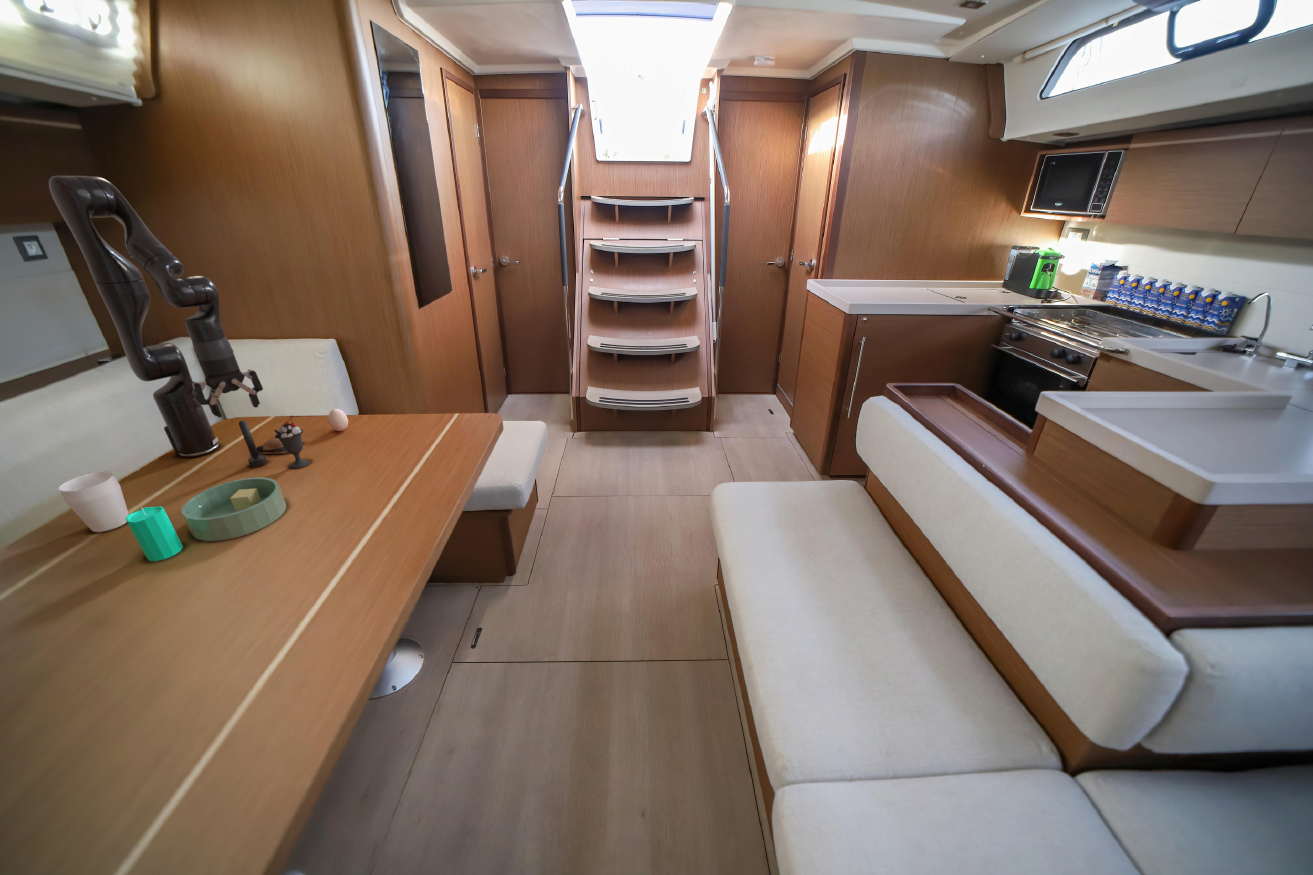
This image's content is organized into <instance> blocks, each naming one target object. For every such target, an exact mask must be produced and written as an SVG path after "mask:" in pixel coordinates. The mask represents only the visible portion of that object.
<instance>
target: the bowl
mask: <svg viewBox="0 0 1313 875" xmlns="http://www.w3.org/2000/svg"><path fill="white" fill-rule="evenodd" d="M254 488H257V491H258V493H259V496H260V498H261V502H260V503H258V504H256V505H254V506H252V507H250V508H247V509H244V510H241V511H235V509H234V506H233V504H232V502H231V499H230V498H231V497H232V496H233V495H234V494H235V493H236V492H237V491H238V490H241V489H254ZM286 509H287V502H286V500H285V497H284V494H283V491H282V489H281V486H280V484H279V482H278V481H277V480H276V479H273V478H269V477H260V476H259V477H257V476H256V477H254V476H253V477H246V478H239V479H235V480H230V481H227V482H223V483H220V484H218V485H214V486H211V487H210V488H207V489H205V490H203V491H201V492H199V493H197V494H195V495H194V496H192V497H191V498H189V499H188V500H187V501H186V502H185V503H184V504H183V506H182V507H181V509H180V511H181V516H182V518H183V520H184V522H185V524H186V527H187V529H188V531H189V532H190V535H192V536H193V537H194V538H195V539H197V540H199V541H203V542H205V541H206V542H219V541H226V540H227V541H228V540H231V539H236V538H239V537H244V536H246V535H249V534H252V533H254V532H257V531H259V530H261V529H264V528H265V527H267V526H269V525H270V524H272V523H274V522H275V521H277V520H278V519H280V517H281V516H282V515H283V514H284V513H285V512H286Z"/></svg>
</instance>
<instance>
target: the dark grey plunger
mask: <svg viewBox="0 0 1313 875" xmlns="http://www.w3.org/2000/svg"><path fill="white" fill-rule="evenodd" d="M238 426H239V429H240V431H241V434H242V436H243V439H244V441H245V444H246V446H247V450H248V452H249V454H250V456H251V457H249V458H248V459H247V462H248V464H249V467H251V468H260V467H262V466H265V465H266V464H267V463H268V462H267V459H266V456H265V454H259V453H258V451H257V445H256V443H255V440H254V438H253V436H252V432H251V430H250V428H249V425H248V423H247V421H246V420H240V421H238Z"/></svg>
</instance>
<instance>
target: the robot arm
mask: <svg viewBox="0 0 1313 875" xmlns="http://www.w3.org/2000/svg"><path fill="white" fill-rule="evenodd" d="M48 188H49V191H50V194H51V197H52V200H53V201H54V203H55V205H56V207H57V209H58V211H59V212H60V214H61V217H62V218H63V220H64V221H65V223H66V225H67V227H68V229H69V230H70V232H71V234H72V236H73V238H74V239H75V241H76V244H77V245H78V247H79V249H80V251H81V253H82V256H83V258H84V260H85V262H86V264H87V267H88V269H89V271H90V274H91V276H92V277H91V278H92V280H93V282H94V284H95V286H96V289H97V290H98V293H99V295H100V296H101V298H102V300H103V302H104V304H105V307H106V308H107V311H108V313H109V315H110V317H111V320H112V322H113V324H114V327H115V329H116V331H117V334H118V337H119V340H120V343H121V346H122V348H123V351H124V355H125V356H126V358H127V363H128V364H129V366H130V368H131V371H132V372H133V373H134V375H135V376H136V377H137V378H138V379H139V380H141V382H142V381H143V382H148V383H149V382H153V381H158V380H161V379H166V378H169V379H168V381H167V382H166V383H165V384H164V385H162V386H161V387H160V388H158V389H156V390H155V391H154V392H153V394H152V397H153V401H154V402H155V404H156V407H157V408H158V410H159V412H160V414H161V417H162V419H163V421H164V423H165V425H166V426H164V427H163V430H164V432H165V434H166V436H167V438H168V440H169V443H170V445H171V447H172V449H173V451H174V453H175V456H176V457H181V458H196V457H201V456H205V455H208V454H211V453H213V452H215V451H217V450H218V449H219V448H220V444H219V442H218V441H219V438H218V436H215V432H214V431H213V428H212V426H211V423H210V421H209V419H208V417H207V415H206V414H207V413H206V412H205V409H204V408H203V406H205V405H206V406H208V407H209V409H210V412H211V413H212V415H214V416H215V417H217V418H223V414H222V412H221V410H220V407H219V405H218V404H217V402H218V399H219V398H220V397H221V394H228V393H230V392H236V391H239V389H242V390H243V391H245V392H247V393H248V394H247V395H248V397H249V400H250V402H251V405H252V407H253V408H255V409H256V408H259V405H260V403H261V402H260V400H259V396H258V393H259V392H262V391H263V390H264V387H263V385H262V383H261V381H260V378H259V376H258V374H257V371H255V370H254V369H248V370H247V371H243V372H242V371H241V369H240V365H239V364H238V361H237V358H236V355H235V353H234V349H233V348H232V346H231V343H230V341H229V340H228V338H227V336H226V332H225V331H224V327H223V325H222V322H221V312H220V294H219V290H218V288H217V286H216V285H215V283H214V282H213V281H212V280H211V279H210V278H208V277H207V276H205V275H193V276H192V275H191V276H184V277H181V276H182V275H183V274H184V272H185V267H184V264H183V262H181V260H180V259H178V258H177V257H176V256H175V255H174V254H173V253H172V252H171V251H170V250H169V248H167V247H166V246H165V245H164V244H162V242H161V241H160V240H159V239H158V238H157V237H156V236H155V234H153V233H152V231H151V230H150V229H149V228H148V226H147V225H146V224H145V222H144V221H143V220H142V218H141V216H139V214H138V213H137V211H136V210H135V209H134V208H133V207H132V205H131V204H130V203H129V201H128V199H126V197H125V196H124V195H123V194H122V193H121V191H120V190H119V189H118V188H117V187H116V186H115V185H114V184H113V183H112V182H111V181H109V180H107V179H105V178H103V177H101V176H93V175H91V176H90V175H53V176H51V177H50V178H49V180H48ZM96 218H98V219H99V218H113V219H115V220H116V221H118V222H119V223H120V224H121V225H122V226H123V230H124V245H125V248H126V251H127V252H128V254H129V255H130V257H131V258H132V259H133V260H134V261H135V262H136V263H137V264H138V265H139V266H140V267H141V268H142V269H143V270H144V271H145V272H146V273H148V275H150V277H151V278H152V280H153V282H154V283H155V285H156V286H157V288H158V290H159V292H160V294H161V296H162V297H163V299H164V300H165V301H166V303H167V304H170V305H171V306H173V307H176V308H178V309H188V308H192V307H198V309H197V311H196V312H195V314H193V315H191V316H188V317H186V319H185V320H184V325H185V326H184V327H185V328H186V331H187V334H188V335H189V339H190V340H191V344H192V347H193V351H194V354H195V356H196V358H197V361H198V364H199V365H200V368H201V370H202V373H203V375H204V380H201V381H193V379H192V375H191V373H190V370H189V367H188V364H187V361H186V359H185V355H183V353H182V351H181V350H180V348H179V347H178V346H176V345H175V344H174V343H172V342H164V343H157V344H153V345H148V346H144V343H143V336H142V331H143V324H144V322H145V319H146V316H147V314H148V311H149V309H150V305H151V300H152V297H151V296H152V295H151V292H150V290H149V288H148V285H147V283H146V281H145V278H144V276H143V273H142V272H141V270H140V269H139V268H138V267H137V266H136V265H135V264H134V263H132V262H131V261H130V260H129V259H128V258H126V257H125V256H124V255H123V254H121V253H120V252H118V251H117V250H116V249H115V248H114V247H112V246H111V245H110V244H109V243H108V242H107V241H106V240H105V239H104V238H103V237H102V236H101V234H100V233H99V231H98V229H97V228H96V227H95V225H94V223H93V221H92V219H96ZM245 377H246V378H247V379H249V380H250V381H251V383H252V385H253V387H252V388H251V387H249V386H248V385H246V384H244V383H243V382H244V380H245ZM205 386H208V387H209V388H211V389H210V391H209V393H208V396H207V398H206V397H205V394H204V390H205Z"/></svg>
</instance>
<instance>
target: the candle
mask: <svg viewBox="0 0 1313 875" xmlns="http://www.w3.org/2000/svg"><path fill="white" fill-rule="evenodd" d="M140 508H141V509H139V510H137V511H134V512H132V513H129V514H128V516H127V517H126V521H127V522H126V524H127V525H128V526H129V528H130V531H131V532H132V534H133V536H134V538H135V539H136V541H137V543H138V545H139V546H140V549H141V550H142V552H143V553H144V555H145V557H146V559H147V560H148V561H149V562H159V561H162V560H166V559H169V558H171V557H174V556H175V555H177V554H178V553H180V552H181V551H182V549H183V548H184V546H183V544H182V542H181V540H180V538H179V535H178V533H177V532H176V530H175V528H174V526H173V523H172V522H171V520H170V518H169V515H168V514H167V512H166V510H165V508H164V507H163V506H162V505H159V506H145V507H142V506H141V507H140Z"/></svg>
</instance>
